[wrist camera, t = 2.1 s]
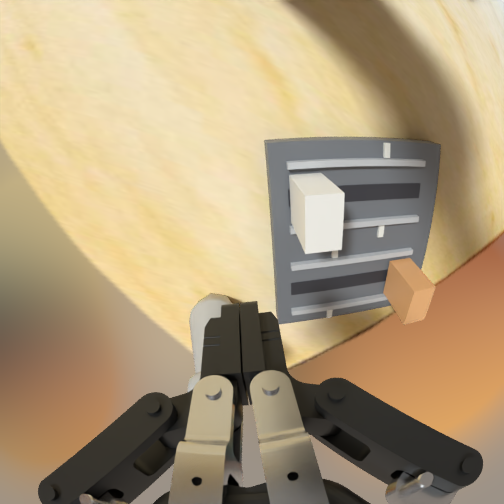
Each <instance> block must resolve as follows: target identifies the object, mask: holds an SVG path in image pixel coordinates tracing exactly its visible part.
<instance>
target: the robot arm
mask: <svg viewBox="0 0 504 504" xmlns="http://www.w3.org/2000/svg"><path fill="white" fill-rule="evenodd" d="M248 397H249V401H250V405H253V411H254V416H255V422H256V427H257V433H258V439H259V447H260V453H261V458H262V464H263V469H264V474H265V479H266V483H263V484H260V485H256V486H253V487H249V488H245V487H243V470H242V437H243V406H242V405H248ZM309 435H313V437H315V438H316V439H317V440H319V441H320V442H321V443H323V444H324V445H326V446H327V447H329V448H330V449H332V450H333V451H335V452H336V453H337V454H339V455H340V456H342V457H344V458H345V459H347V460H348V461H350V462H351V463H353V464H354V465H356V466H358V467H359V468H361V469H362V470H364V471H366V472H367V473H369V474H371V475H372V476H374V477H376V478H377V479H379V480H381V481H382V482H384V483H386V484H388V487H387V489H386V493H385V497H386V500H387V502H388V503H389V504H450V503H451V501H452V499H453V498H454V496H455V494H456V493H457V491H458V490H459V489H462V488H464V487H466V486H468V485H470V484H471V483H473V482H474V481H475V480H476V479H477V478H478V477H479V475H480V474H481V471H482V468H483V459H482V456H481V454H480V453H479V452H478V451H477V450H475V449H473V448H471V447H469V446H467V445H464V444H462V443H460V442H458V441H456V440H454V439H452V438H450V437H448V436H446V435H444V434H442V433H440V432H438V431H436V430H434V429H432V428H431V427H429V426H427V425H425V424H423V423H421V422H419V421H417V420H415V419H414V418H412V417H410V416H408V415H406V414H404V413H403V412H401V411H399V410H397V409H395V408H394V407H392V406H390V405H388V404H387V403H385V402H383V401H381V400H380V399H378V398H376V397H375V396H373V395H371V394H369V393H368V392H366V391H364V390H363V389H361V388H359V387H358V386H356V385H354V384H353V383H351V382H349V381H348V380H346V379H343V378H330V379H328V380H325V381H323V382H322V383H321V384H320V385H316V384H307V383H302V382H299V381H297V380H295V379H294V378H293V377H292V376H291V375H290V374H289V372H288V370H287V367H286V361H285V356H284V351H283V345H282V340H281V335H280V329H279V324H278V320H277V318H276V317H275V316H274V315H273V314H272V312H265V313H258V305H257V301H254V302H245V303H240V307H239V303H236V304H226V305H221V317H218V318H210V320H209V321H208V323H207V324H206V326H205V329H204V340H203V351H202V363H201V376H200V380H199V381H198V382H197V383H196V385H195V387H194V388H193V389H192V390H191V391H189V392H188V393H186V394H182V395H179V396H176V397H172V398H169V397H168V396H166V395H165V394H162V393H157V392H154V393H149V394H146V395H145V396H143V397H142V398H141V399H139V400H138V401H137V402H136V403H135V404H134V405H133V406H131V407H130V408H129V409H128V410H127V411H126V412H125V413H123V414H122V415H121V416H120V417H119V418H118V419H117V420H115V421H114V422H113V423H112V424H111V425H110V426H108V427H107V428H106V429H105V430H104V431H103V432H101V433H100V434H99V435H98V436H97V437H95V438H94V439H93V440H92V441H91V442H89V443H88V444H87V445H86V446H85V447H83V448H82V449H81V450H80V451H79V452H77V453H76V454H75V455H74V456H73V457H71V458H70V459H69V460H68V461H67V462H65V463H64V464H63V465H61V466H60V467H59V468H58V469H56V470H55V471H54V472H53V473H51V474H50V475H49V476H48V477H46V478H45V479H44V480H43V481H41V483H40V485H39V488H38V495H39V498H40V501H41V502H42V504H130V503H131V502H132V501H133V500H134V499H135V498H136V497H138V496H139V495H140V494H141V493H142V492H143V491H145V490H146V489H147V488H148V487H149V486H150V485H151V484H152V483H153V482H155V481H156V480H157V479H158V478H159V477H160V476H161V475H162V474H163V473H164V472H165V471H166V470H167V469H168V468H170V466H171V465H173V464H174V468H173V474H172V482H171V488H170V491H169V492H167V493H165V494H164V495H162V496H161V497H159V498H158V499H157V500H156V501H155V502H154V503H153V504H370V503H369V502H367V501H365V500H364V499H362V498H361V497H359V496H358V495H356V494H355V493H353V492H352V491H350V490H349V489H348V488H346V487H344V486H342V485H341V484H339V483H336V482H333V481H330V480H326V479H322V477H321V473H320V470H319V466H318V463H317V459H316V456H315V453H314V449H313V446H312V442H311V439H310V437H309Z"/></svg>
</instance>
